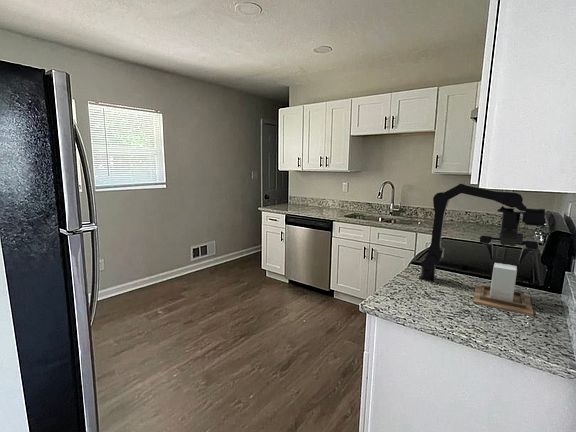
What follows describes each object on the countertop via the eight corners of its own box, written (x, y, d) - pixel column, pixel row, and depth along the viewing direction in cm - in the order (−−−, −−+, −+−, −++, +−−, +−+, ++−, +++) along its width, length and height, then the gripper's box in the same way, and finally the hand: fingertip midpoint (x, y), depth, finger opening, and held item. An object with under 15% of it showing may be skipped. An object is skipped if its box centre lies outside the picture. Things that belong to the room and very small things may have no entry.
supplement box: (512, 303, 115) (517, 270, 113) (489, 298, 120) (492, 266, 118) (513, 296, 121) (517, 265, 119) (490, 292, 126) (494, 261, 124)
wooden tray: (475, 286, 134) (476, 281, 133) (528, 296, 124) (529, 291, 124) (472, 302, 117) (473, 297, 117) (533, 315, 107) (533, 310, 107)
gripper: (480, 224, 121) (476, 262, 124) (542, 230, 111) (536, 272, 113) (482, 220, 130) (478, 256, 133) (539, 225, 120) (534, 264, 122)
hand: (505, 262), depth 125 cm, fingers open, 9 cm apart
